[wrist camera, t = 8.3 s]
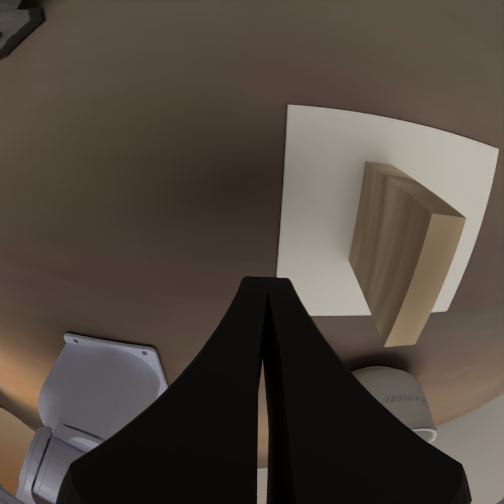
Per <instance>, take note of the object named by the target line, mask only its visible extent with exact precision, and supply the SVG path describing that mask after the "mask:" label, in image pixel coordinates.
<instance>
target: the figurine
mask: <svg viewBox="0 0 504 504" xmlns="http://www.w3.org/2000/svg"><path fill="white" fill-rule="evenodd" d="M20 2H21V0H0V60H2V59H3V58H4V56H5V55H6V54H9V53H10V52H11V51H12V48H13V47H15V46H17V45H18V44H19V41H20V40H21V39H22V38H23V37H24V36H26V35H28V34H30V33H31V32H32V29H33V28H35V27H37V26H39V25H40V24H41V21H42V15H41V10H40V8H28V9H27V10H18V9H17V8H18V6H19V4H20Z"/></svg>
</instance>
